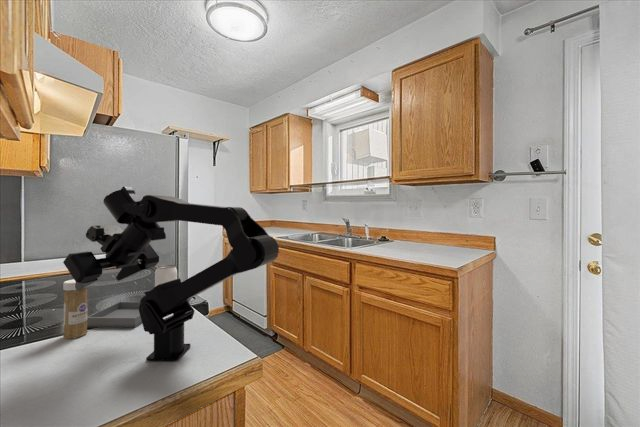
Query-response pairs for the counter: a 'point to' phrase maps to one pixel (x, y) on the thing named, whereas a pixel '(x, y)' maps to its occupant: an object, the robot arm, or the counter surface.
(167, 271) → the can
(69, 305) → the sprinkles bottle
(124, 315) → the tray
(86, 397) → the counter surface
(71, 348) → the counter surface
